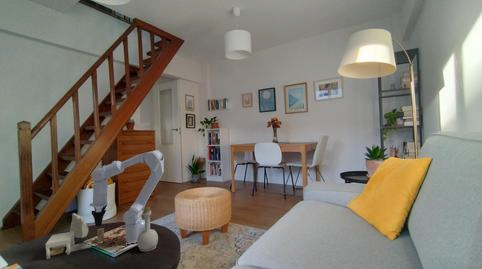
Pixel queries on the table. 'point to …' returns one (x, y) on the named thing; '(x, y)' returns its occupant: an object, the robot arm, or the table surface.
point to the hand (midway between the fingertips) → (99, 222)
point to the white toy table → (60, 242)
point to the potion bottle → (147, 234)
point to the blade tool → (82, 246)
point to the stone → (78, 226)
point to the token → (56, 251)
